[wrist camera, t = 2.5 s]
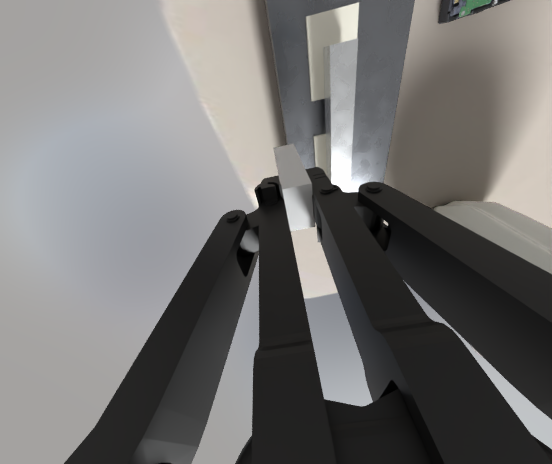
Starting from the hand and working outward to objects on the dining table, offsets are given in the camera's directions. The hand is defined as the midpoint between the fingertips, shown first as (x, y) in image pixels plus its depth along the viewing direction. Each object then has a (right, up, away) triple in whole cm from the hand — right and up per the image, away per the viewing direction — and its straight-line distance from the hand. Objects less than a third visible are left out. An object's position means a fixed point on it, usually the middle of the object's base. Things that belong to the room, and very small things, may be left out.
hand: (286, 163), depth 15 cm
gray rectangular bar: (+7, +6, +11) cm, 14 cm away
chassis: (+7, +11, +12) cm, 18 cm away
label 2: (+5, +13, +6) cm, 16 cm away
